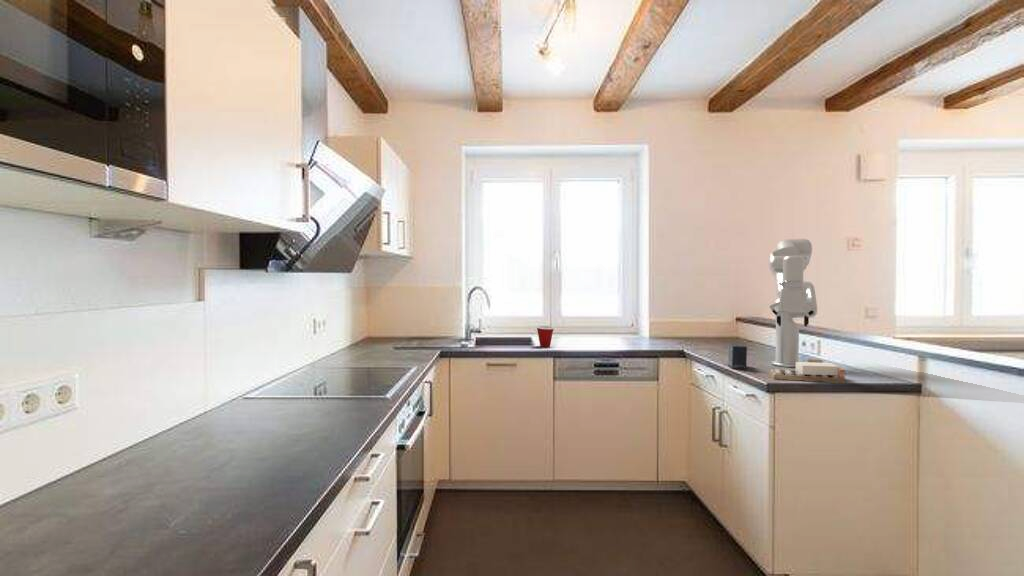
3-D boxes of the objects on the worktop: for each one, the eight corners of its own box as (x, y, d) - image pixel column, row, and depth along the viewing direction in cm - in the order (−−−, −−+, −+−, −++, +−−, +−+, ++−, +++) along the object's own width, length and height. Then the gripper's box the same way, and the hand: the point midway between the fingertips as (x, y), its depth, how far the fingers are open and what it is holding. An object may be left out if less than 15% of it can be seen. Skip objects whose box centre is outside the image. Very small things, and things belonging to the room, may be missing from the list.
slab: (795, 370, 215) (795, 361, 215) (829, 371, 213) (830, 362, 212) (802, 374, 207) (802, 365, 207) (838, 375, 204) (838, 366, 204)
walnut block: (807, 372, 222) (807, 359, 221) (820, 373, 220) (820, 359, 220) (809, 375, 217) (809, 361, 217) (823, 376, 215) (823, 361, 215)
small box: (747, 369, 230) (747, 346, 229) (732, 369, 231) (732, 345, 231) (741, 365, 240) (742, 343, 240) (727, 364, 241) (727, 342, 241)
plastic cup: (544, 348, 296) (544, 327, 295) (532, 346, 304) (532, 326, 304) (558, 346, 303) (558, 326, 302) (545, 344, 311) (545, 324, 311)
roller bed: (770, 373, 221) (770, 361, 221) (837, 377, 212) (837, 365, 212) (773, 379, 209) (773, 366, 209) (845, 383, 201) (845, 370, 200)
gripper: (770, 285, 216) (770, 326, 217) (818, 285, 209) (817, 327, 210) (769, 285, 223) (768, 324, 224) (815, 285, 216) (814, 325, 217)
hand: (792, 325), depth 217 cm, fingers open, 9 cm apart
